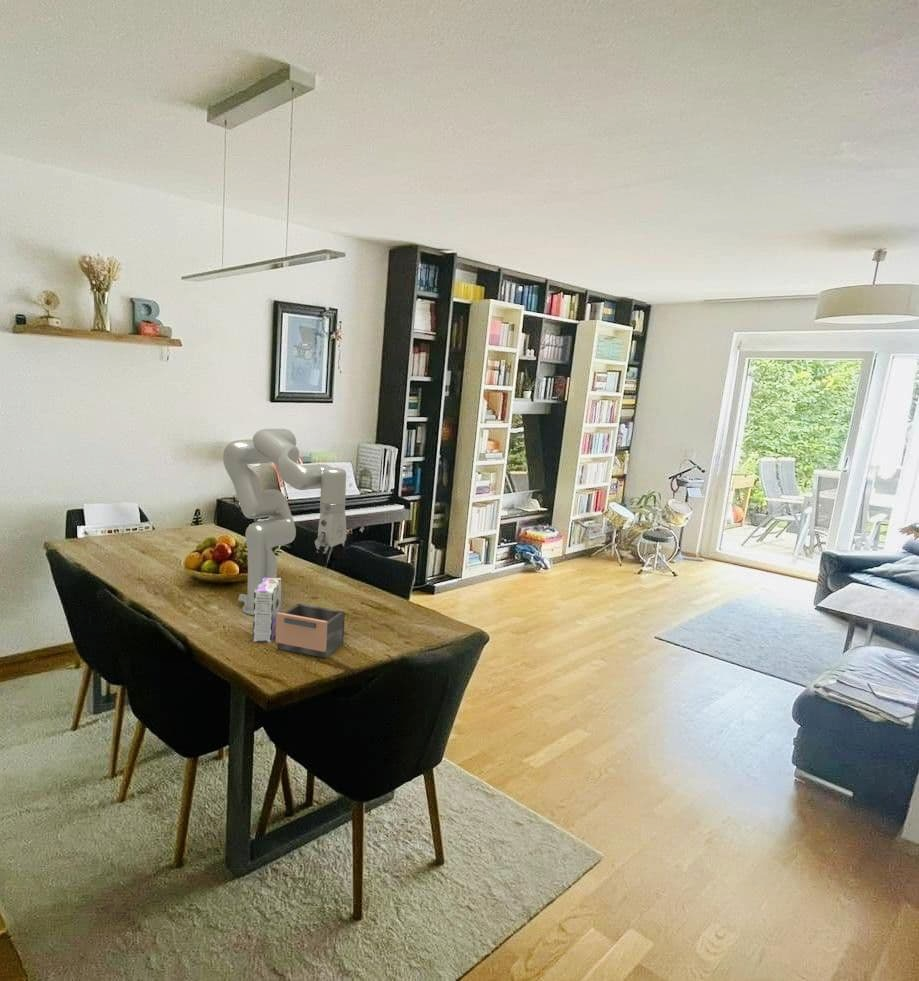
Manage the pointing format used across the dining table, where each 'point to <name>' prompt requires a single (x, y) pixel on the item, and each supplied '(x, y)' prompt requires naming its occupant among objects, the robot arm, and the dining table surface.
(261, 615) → the candy box
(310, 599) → the dining table surface
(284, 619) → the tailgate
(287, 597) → the dining table surface
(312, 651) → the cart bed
